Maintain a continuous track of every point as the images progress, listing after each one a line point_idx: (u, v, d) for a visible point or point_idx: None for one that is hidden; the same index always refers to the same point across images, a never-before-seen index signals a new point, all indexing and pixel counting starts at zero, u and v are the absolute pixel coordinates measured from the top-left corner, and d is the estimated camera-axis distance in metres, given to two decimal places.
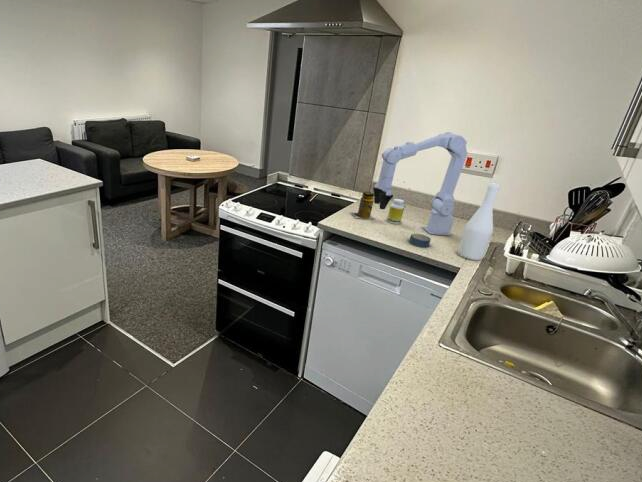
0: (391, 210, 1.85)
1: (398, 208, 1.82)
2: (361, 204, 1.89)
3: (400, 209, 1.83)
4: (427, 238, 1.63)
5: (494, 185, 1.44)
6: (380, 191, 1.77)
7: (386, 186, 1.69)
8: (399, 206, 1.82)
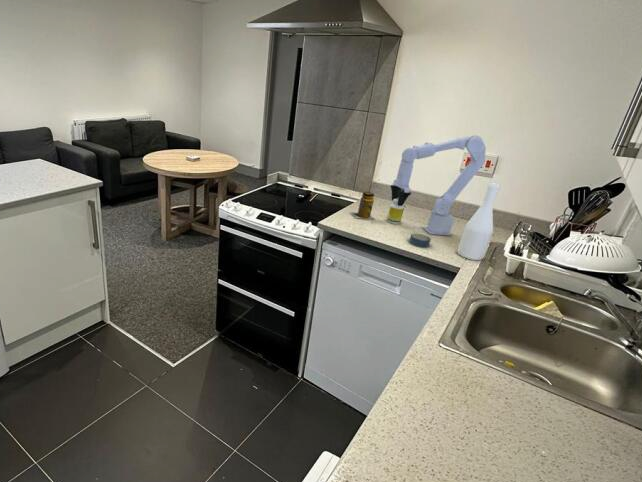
0: (391, 210, 1.85)
1: (398, 208, 1.82)
2: (361, 204, 1.89)
3: (400, 209, 1.83)
4: (427, 238, 1.63)
5: (494, 185, 1.44)
6: (397, 189, 1.85)
7: (404, 184, 1.77)
8: (399, 206, 1.82)
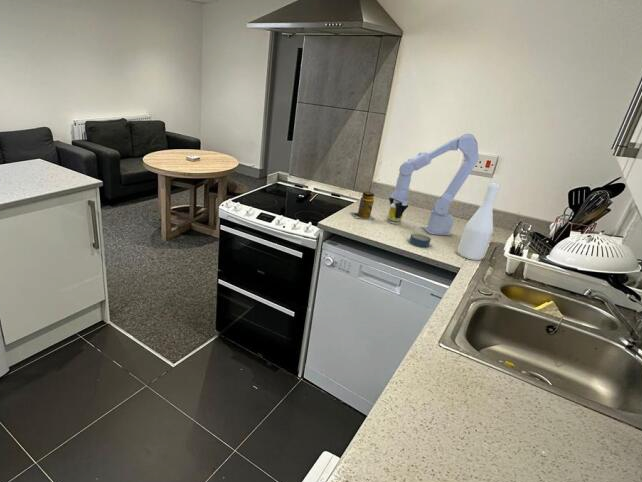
0: (391, 210, 1.85)
1: None
2: (361, 204, 1.89)
3: None
4: (427, 238, 1.63)
5: (494, 185, 1.44)
6: None
7: (402, 197, 1.80)
8: None
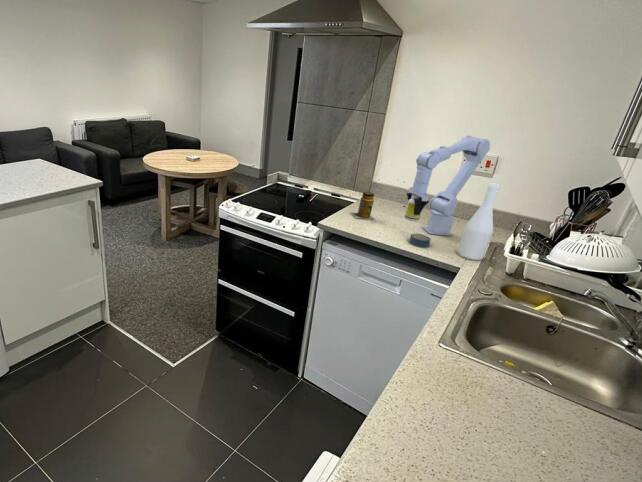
0: (409, 206, 1.68)
1: None
2: (361, 204, 1.89)
3: None
4: (427, 238, 1.63)
5: (494, 185, 1.44)
6: None
7: (422, 191, 1.64)
8: None
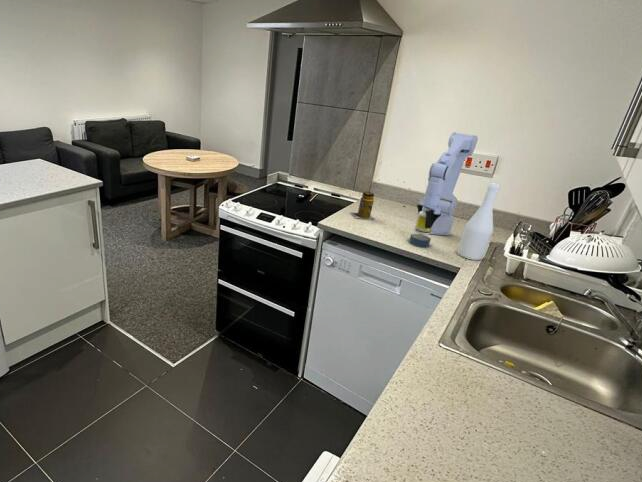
0: (420, 219, 1.60)
1: None
2: (361, 204, 1.89)
3: None
4: (427, 238, 1.63)
5: (494, 185, 1.44)
6: None
7: (433, 204, 1.55)
8: None
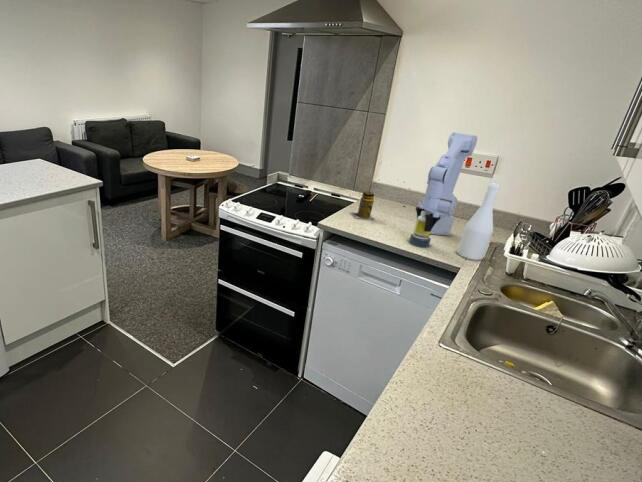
0: (418, 224, 1.61)
1: None
2: (361, 204, 1.89)
3: None
4: None
5: (494, 185, 1.44)
6: None
7: (432, 207, 1.56)
8: None
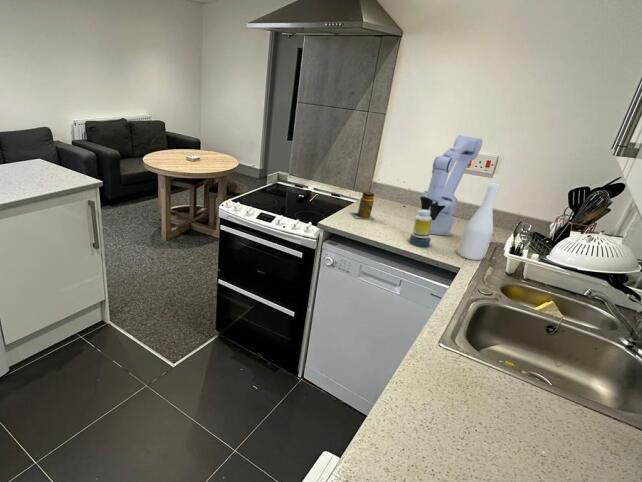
0: (417, 223, 1.61)
1: (425, 220, 1.59)
2: (361, 204, 1.89)
3: (427, 221, 1.59)
4: (427, 238, 1.63)
5: (494, 185, 1.44)
6: (428, 201, 1.67)
7: (437, 196, 1.60)
8: (426, 217, 1.59)
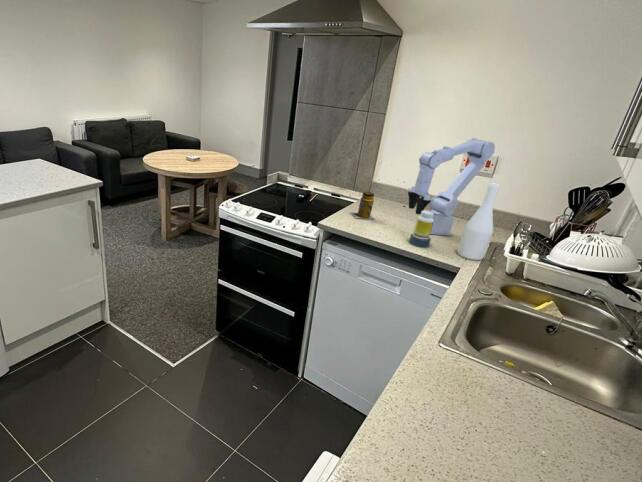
0: (418, 224, 1.61)
1: (427, 222, 1.58)
2: (361, 204, 1.89)
3: (429, 223, 1.58)
4: None
5: (494, 185, 1.44)
6: (415, 196, 1.73)
7: (423, 191, 1.65)
8: (428, 219, 1.58)
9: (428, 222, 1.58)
